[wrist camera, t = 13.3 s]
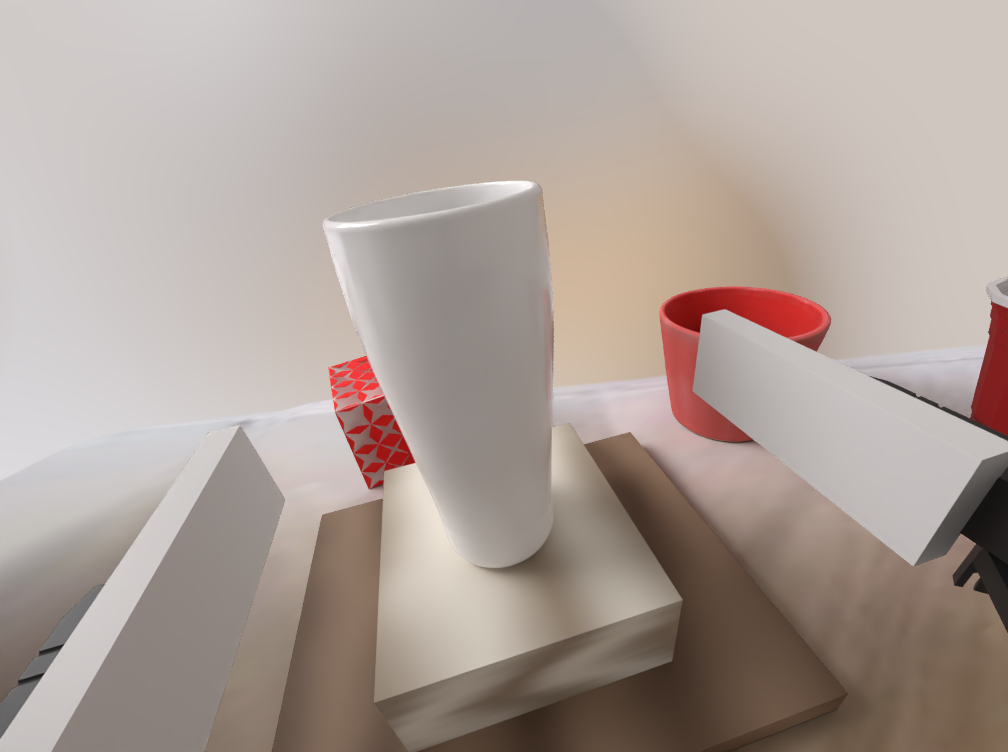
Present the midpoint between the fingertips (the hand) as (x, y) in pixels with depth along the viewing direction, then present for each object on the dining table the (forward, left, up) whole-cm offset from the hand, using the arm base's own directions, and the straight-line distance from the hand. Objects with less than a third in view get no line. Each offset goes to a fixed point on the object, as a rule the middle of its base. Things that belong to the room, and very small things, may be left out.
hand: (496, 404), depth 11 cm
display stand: (0, +4, -16) cm, 17 cm away
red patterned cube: (-7, +21, -17) cm, 27 cm away
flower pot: (+21, +14, -16) cm, 30 cm away
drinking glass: (0, +4, -10) cm, 11 cm away
